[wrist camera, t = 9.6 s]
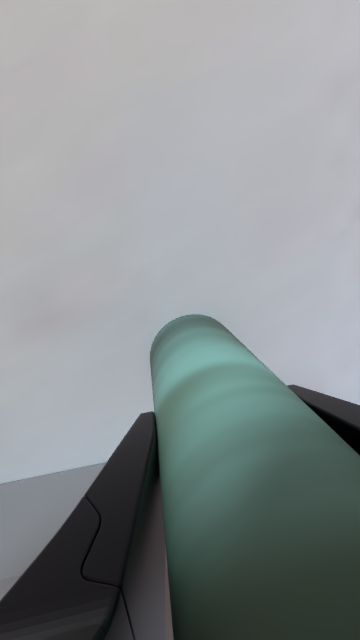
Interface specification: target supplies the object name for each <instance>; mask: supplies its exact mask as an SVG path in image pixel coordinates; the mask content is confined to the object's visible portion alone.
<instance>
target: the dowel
mask: <svg viewBox="0 0 360 640" xmlns="http://www.w3.org/2000/svg"><path fill="white" fill-rule="evenodd" d="M150 365H151V376H152V388H153V400H154V412H155V421H156V433H157V445H158V460H159V472H160V484H161V496H162V508H163V520H164V532H165V544H166V556H167V568H168V579H169V591H170V603H171V615H172V627H173V639H174V640H360V455H359V454H358V453H357V452H356V451H355V450H353V449H352V448H351V447H350V446H349V445H348V444H347V443H346V442H345V441H344V440H343V439H342V438H341V437H340V436H339V435H338V434H337V433H336V432H335V431H334V430H332V429H331V428H330V427H329V426H328V425H327V424H326V423H325V422H324V421H323V420H322V419H321V418H320V417H319V416H318V415H317V414H316V413H315V412H314V411H313V410H311V409H310V408H309V407H308V406H307V405H306V404H305V403H304V402H303V401H302V400H301V399H300V398H299V397H298V396H297V395H296V394H295V393H294V392H293V391H292V390H291V389H289V388H288V387H287V386H286V385H285V384H284V383H283V382H282V381H281V380H280V379H279V378H278V377H277V376H276V375H275V374H274V373H273V372H272V371H271V370H270V369H268V368H267V367H266V366H265V365H264V364H263V363H262V362H261V361H260V360H259V359H258V358H257V357H256V356H255V355H254V354H253V353H252V352H251V351H250V350H249V349H247V348H246V347H245V346H244V345H243V344H242V343H241V342H240V341H239V340H238V339H237V338H236V337H235V336H234V335H233V334H232V333H231V332H230V331H229V330H228V329H226V328H225V327H224V326H223V325H222V324H221V323H220V322H218V321H217V320H215V319H213V318H211V317H208V316H204V315H186V316H182V317H179V318H176V319H174V320H173V321H171V322H169V323H168V324H167V325H165V326H164V327H163V328H162V329H161V330H160V331H159V333H158V334H157V336H156V337H155V339H154V341H153V344H152V347H151V351H150Z"/></svg>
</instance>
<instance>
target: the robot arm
mask: <svg viewBox="0 0 360 640" xmlns="http://www.w3.org/2000/svg"><path fill="white" fill-rule="evenodd" d="M287 387H288V388H289V389H291V390H292V391H293V392H294V393H295V394H296V395H297V396H298V397H299V398H300V399H301V400H302V401H303V402H304V403H305V404H306V405H307V406H308V407H309V408H310V409H311V410H313V411H314V412H315V413H316V414H317V415H318V416H319V417H320V418H321V419H322V420H323V421H324V422H325V423H326V424H327V425H328V426H329V427H330V428H331V429H332V430H334V431H335V432H336V433H337V434H338V435H339V436H340V437H341V438H342V439H343V440H344V441H345V442H346V443H347V444H348V445H349V446H350V447H351V448H352V449H353V450H355V451H356V452H357V453H358V454H359V455H360V405H357V404H354V403H351V402H347V401H344V400H341V399H338V398H335V397H331V396H328V395H325V394H322V393H319V392H316V391H312V390H309V389H306V388H303V387H300V386H297V385H288V386H287ZM0 640H165V532H164V520H163V508H162V496H161V484H160V472H159V460H158V445H157V433H156V421H155V413H154V412H147V413H142V414H140V415H139V417H138V418H137V420H136V421H135V423H134V424H133V425H132V427H131V428H130V430H129V431H128V433H127V434H126V435H125V437H124V438H123V440H122V441H121V443H120V444H119V445H118V447H117V448H116V450H115V451H114V453H113V454H112V456H111V457H110V458H109V460H108V461H107V463H106V464H105V466H104V467H103V468H102V470H101V471H100V473H99V474H98V476H97V477H96V478H95V480H94V481H93V483H92V484H91V486H90V487H89V488H88V490H87V491H86V493H85V495H84V496H83V497H82V498H81V500H80V501H79V503H78V504H77V505H76V507H75V508H74V510H73V511H72V512H71V514H70V515H69V517H68V518H67V519H66V521H65V522H64V523H63V525H62V526H61V527H60V529H59V530H58V531H57V533H56V534H55V535H54V536H53V537H52V539H51V540H50V541H49V542H48V544H47V545H46V546H45V547H44V549H43V550H42V551H41V552H40V554H39V555H38V556H37V557H36V558H35V560H34V561H33V562H32V563H31V564H30V566H29V567H28V568H27V569H26V570H25V572H24V573H23V574H22V575H21V576H20V577H19V579H18V580H17V581H16V582H15V583H14V585H13V586H12V587H11V588H10V589H9V591H8V592H7V593H6V594H5V595H4V597H3V598H2V599H1V600H0Z"/></svg>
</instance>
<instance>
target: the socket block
mask: <svg viewBox="0 0 360 640" xmlns="http://www.w3.org/2000/svg"><path fill="white" fill-rule="evenodd" d="M106 463H107V462H106ZM106 463H102V464H97V465H92V466H87V467H82V468H77V469H72V470H67V471H63V472H58V473H53V474H48V475H43V476H38V477H33V478H28V479H24V480H19V481H14V482H9V483H4V484H0V600H1V599H2V598H3V597H4V595H5V594H6V593H7V592H8V591H9V589H10V588H11V587H12V586H13V585H14V583H15V582H16V581H17V580H18V579H19V577H20V576H21V575H22V574H23V573H24V572H25V570H26V569H27V568H28V567H29V566H30V564H31V563H32V562H33V561H34V560H35V558H36V557H37V556H38V555H39V554H40V552H41V551H42V550H43V549H44V547H45V546H46V545H47V544H48V542H49V541H50V540H51V539H52V537H53V536H54V535H55V534H56V533H57V531H58V530H59V529H60V527H61V526H62V525H63V523H64V522H65V521H66V519H67V518H68V517H69V515H70V514H71V512H72V511H73V510H74V508H75V507H76V505H77V504H78V503H79V501H80V500H81V498H82V497H83V496H84V495H85V493H86V491H87V490H88V488H89V487H90V486H91V484H92V483H93V481H94V480H95V478H96V477H97V476H98V474H99V473H100V471H101V470H102V468H103V467H104V466H105V464H106ZM165 640H174V639H173V627H172V615H171V603H170V591H169V579H168V568H167V556H166V544H165Z"/></svg>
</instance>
